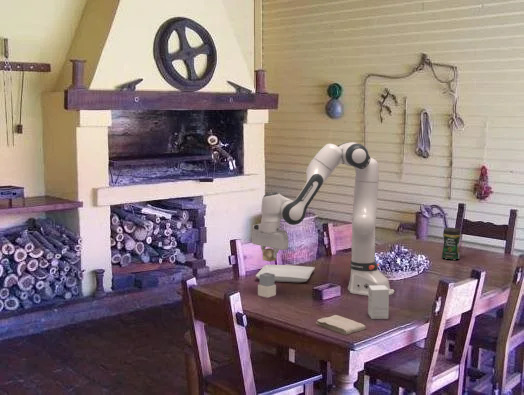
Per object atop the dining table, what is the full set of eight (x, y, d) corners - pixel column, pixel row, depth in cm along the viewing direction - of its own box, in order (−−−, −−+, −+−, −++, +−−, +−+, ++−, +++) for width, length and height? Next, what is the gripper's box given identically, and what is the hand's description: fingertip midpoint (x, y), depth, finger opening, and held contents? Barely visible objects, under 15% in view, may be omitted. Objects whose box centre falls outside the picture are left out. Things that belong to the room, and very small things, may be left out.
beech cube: (276, 260, 318) (276, 249, 318) (269, 261, 315) (270, 251, 314) (269, 258, 321) (269, 248, 321) (262, 260, 318) (262, 249, 317)
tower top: (274, 284, 319) (274, 274, 318) (267, 286, 315) (267, 276, 314) (266, 283, 322) (266, 272, 321) (259, 285, 318) (259, 274, 318)
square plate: (308, 285, 338) (308, 277, 338) (254, 282, 344) (254, 275, 343) (315, 272, 365) (315, 265, 364) (265, 270, 370) (265, 263, 370)
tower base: (275, 295, 319) (275, 284, 319) (267, 297, 315) (267, 287, 314) (266, 292, 323) (266, 282, 323) (257, 295, 319) (257, 285, 318)
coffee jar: (440, 259, 396) (441, 228, 393) (444, 257, 402) (445, 226, 400) (457, 261, 391) (458, 229, 388) (460, 258, 397) (462, 227, 395)
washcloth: (334, 319, 283) (334, 312, 283) (367, 330, 269) (367, 323, 269) (313, 325, 275) (314, 318, 275) (346, 336, 262) (346, 329, 261)
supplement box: (384, 313, 290) (385, 284, 288) (388, 319, 282) (389, 289, 281) (367, 314, 289) (368, 285, 288) (370, 319, 282) (371, 289, 280)
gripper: (291, 229, 312) (290, 259, 313) (259, 223, 325) (258, 252, 327) (283, 231, 307) (282, 261, 309) (249, 225, 320) (249, 253, 322)
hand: (269, 256), depth 318 cm, fingers closed on beech cube, 4 cm apart
